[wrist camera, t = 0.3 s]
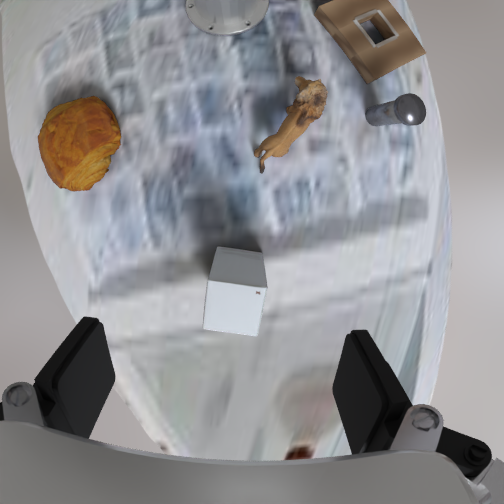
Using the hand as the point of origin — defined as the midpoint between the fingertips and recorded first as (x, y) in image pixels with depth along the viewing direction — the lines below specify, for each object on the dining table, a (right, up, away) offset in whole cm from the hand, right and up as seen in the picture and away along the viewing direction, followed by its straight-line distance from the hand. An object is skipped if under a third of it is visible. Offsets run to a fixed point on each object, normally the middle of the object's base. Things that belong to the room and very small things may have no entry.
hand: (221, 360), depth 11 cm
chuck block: (+20, +39, +25) cm, 50 cm away
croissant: (-26, +22, +31) cm, 46 cm away
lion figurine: (+6, +22, +31) cm, 39 cm away
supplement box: (-1, +1, +38) cm, 38 cm away
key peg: (+20, +25, +30) cm, 44 cm away
